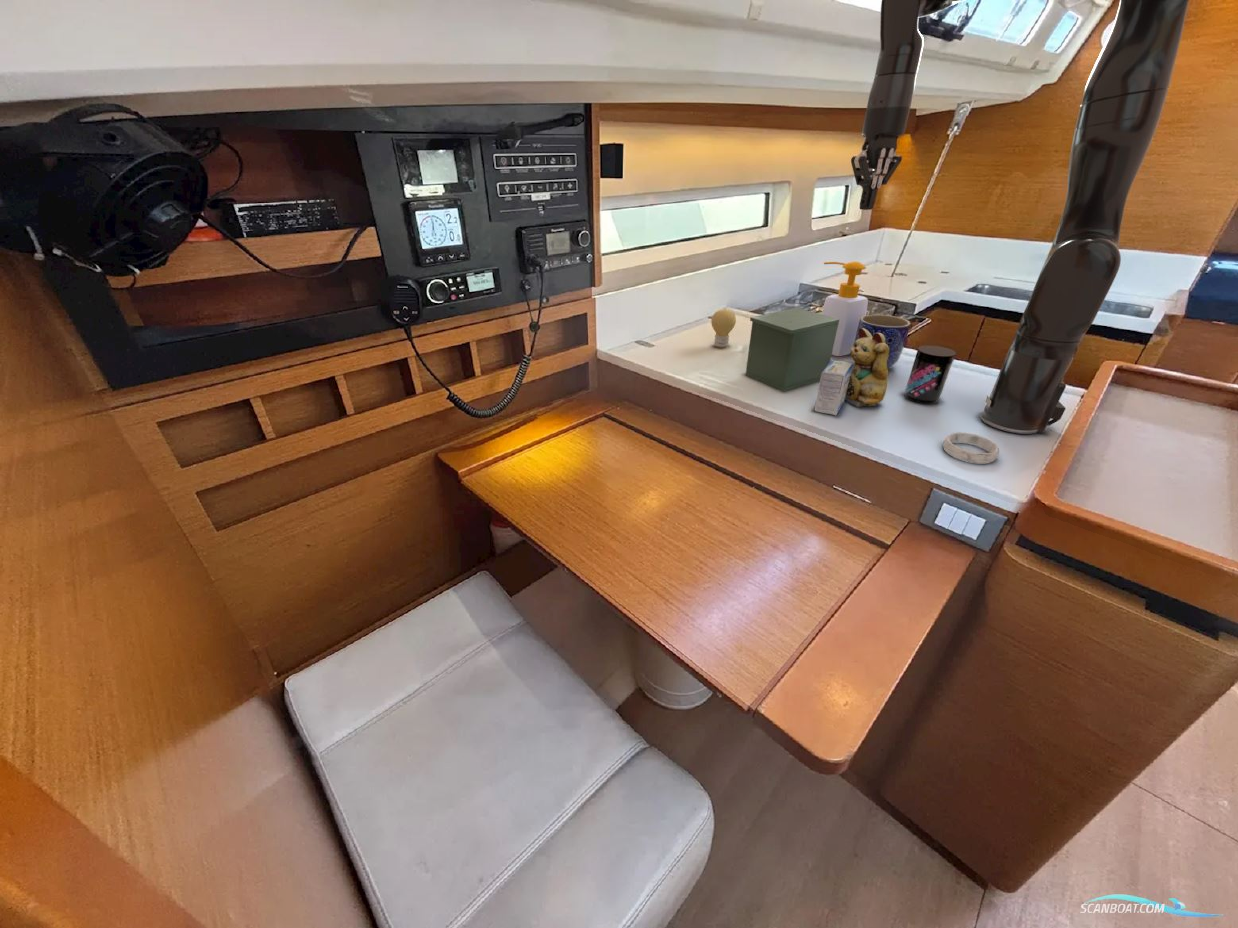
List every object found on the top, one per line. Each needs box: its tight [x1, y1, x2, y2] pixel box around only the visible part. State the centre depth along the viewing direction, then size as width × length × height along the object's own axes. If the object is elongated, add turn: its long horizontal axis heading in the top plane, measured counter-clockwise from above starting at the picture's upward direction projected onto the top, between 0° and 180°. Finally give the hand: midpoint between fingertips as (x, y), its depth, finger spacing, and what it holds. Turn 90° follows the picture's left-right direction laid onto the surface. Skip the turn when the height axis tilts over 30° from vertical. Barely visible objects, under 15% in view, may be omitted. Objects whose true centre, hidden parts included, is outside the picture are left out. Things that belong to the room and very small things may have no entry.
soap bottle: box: [820, 261, 869, 357], centre depth 129 cm, size 10×14×22 cm
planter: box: [854, 314, 911, 370], centre depth 120 cm, size 11×11×11 cm
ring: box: [942, 432, 1000, 465], centre depth 86 cm, size 8×8×2 cm
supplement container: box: [904, 345, 957, 405], centre depth 103 cm, size 7×7×10 cm
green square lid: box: [749, 307, 839, 334], centre depth 110 cm, size 15×12×1 cm
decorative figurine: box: [845, 328, 889, 408], centre depth 101 cm, size 10×8×15 cm
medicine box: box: [814, 359, 853, 416], centre depth 101 cm, size 8×4×9 cm, turn 148°
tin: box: [745, 321, 838, 392], centre depth 114 cm, size 14×12×13 cm
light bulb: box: [710, 308, 737, 349], centre depth 134 cm, size 6×6×10 cm
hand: (866, 209), depth 103 cm, fingers closed
